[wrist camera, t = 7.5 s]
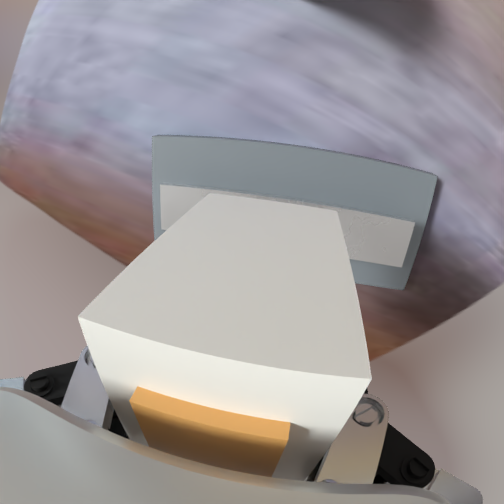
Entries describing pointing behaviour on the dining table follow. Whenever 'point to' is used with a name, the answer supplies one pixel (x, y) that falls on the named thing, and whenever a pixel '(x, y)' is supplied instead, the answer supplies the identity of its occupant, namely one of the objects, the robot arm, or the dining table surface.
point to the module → (235, 337)
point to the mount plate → (303, 193)
